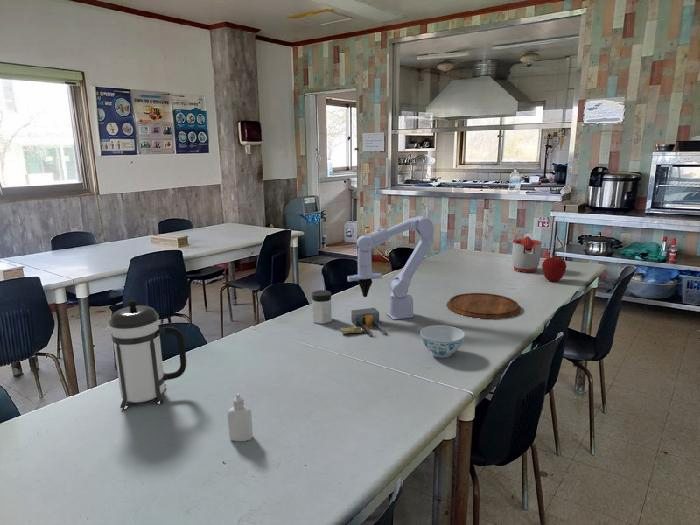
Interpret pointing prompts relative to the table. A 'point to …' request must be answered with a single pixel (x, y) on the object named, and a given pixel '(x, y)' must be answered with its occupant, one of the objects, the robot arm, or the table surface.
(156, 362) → the coffee press
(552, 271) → the apple
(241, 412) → the eye dropper bottle
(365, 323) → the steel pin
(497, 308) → the cutting board
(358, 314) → the hitch block
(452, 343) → the chinaware
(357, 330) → the keeper tab
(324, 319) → the jar
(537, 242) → the citrus juicer
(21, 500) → the table surface
